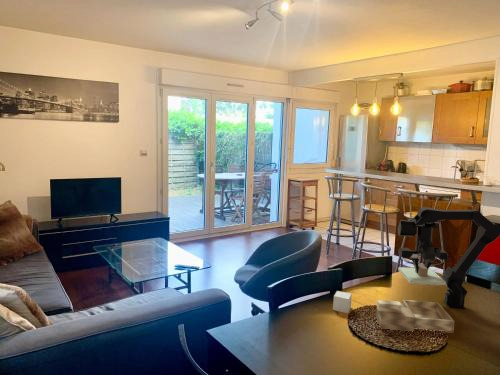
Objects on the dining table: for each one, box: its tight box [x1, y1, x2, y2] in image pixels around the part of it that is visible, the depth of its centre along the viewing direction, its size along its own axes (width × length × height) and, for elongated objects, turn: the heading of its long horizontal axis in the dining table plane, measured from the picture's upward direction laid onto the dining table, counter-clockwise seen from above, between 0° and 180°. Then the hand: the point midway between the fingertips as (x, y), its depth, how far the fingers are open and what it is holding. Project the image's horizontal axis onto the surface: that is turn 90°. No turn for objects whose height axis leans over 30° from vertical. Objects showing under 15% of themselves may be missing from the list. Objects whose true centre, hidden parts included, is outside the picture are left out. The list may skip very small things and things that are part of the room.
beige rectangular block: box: [376, 299, 402, 313], centre depth 140 cm, size 8×3×3 cm, turn 83°
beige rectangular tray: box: [375, 299, 456, 334], centre depth 144 cm, size 26×18×6 cm
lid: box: [397, 263, 446, 287], centre depth 161 cm, size 14×16×6 cm
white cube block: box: [332, 290, 352, 314], centre depth 153 cm, size 6×6×6 cm
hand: (421, 273), depth 161 cm, fingers closed on lid, 3 cm apart
